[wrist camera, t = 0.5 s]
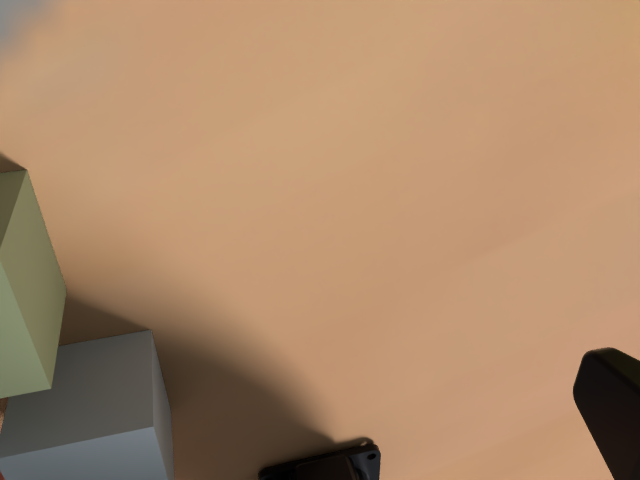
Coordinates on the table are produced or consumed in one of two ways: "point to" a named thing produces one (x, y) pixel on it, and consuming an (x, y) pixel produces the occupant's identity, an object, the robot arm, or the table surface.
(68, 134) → the table surface
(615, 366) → the robot arm
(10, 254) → the olive cube
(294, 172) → the table surface
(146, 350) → the slate cube
